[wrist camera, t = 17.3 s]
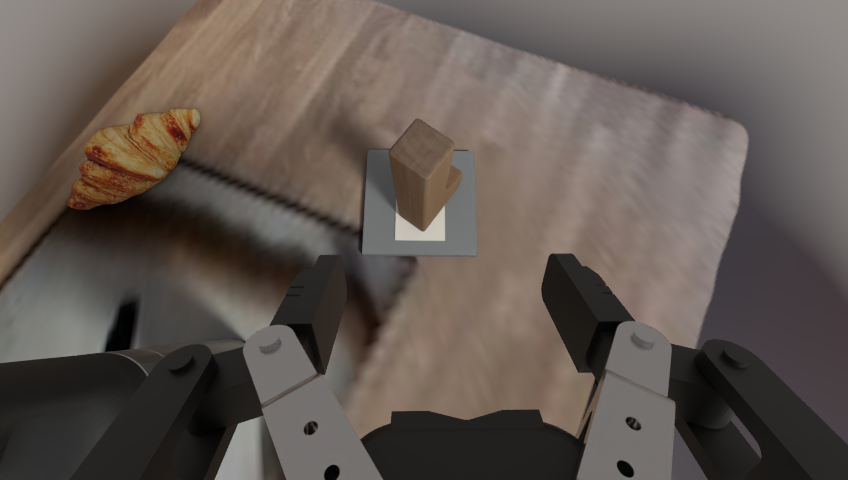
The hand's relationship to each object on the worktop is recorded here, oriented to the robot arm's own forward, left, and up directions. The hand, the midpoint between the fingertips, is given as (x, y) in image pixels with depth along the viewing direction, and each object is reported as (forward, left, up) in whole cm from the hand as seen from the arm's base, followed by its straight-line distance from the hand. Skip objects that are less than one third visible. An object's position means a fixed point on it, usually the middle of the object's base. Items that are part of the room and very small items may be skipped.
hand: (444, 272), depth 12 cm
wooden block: (+1, +15, -31) cm, 34 cm away
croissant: (-41, +20, -33) cm, 57 cm away
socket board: (-1, +15, -32) cm, 36 cm away
